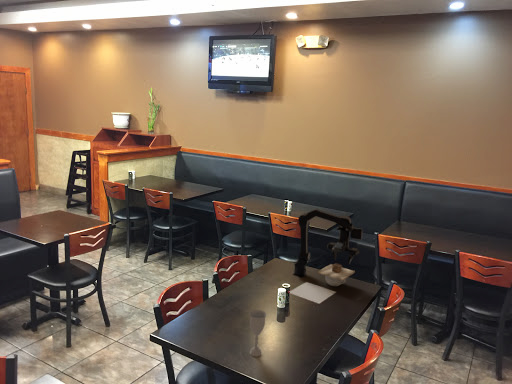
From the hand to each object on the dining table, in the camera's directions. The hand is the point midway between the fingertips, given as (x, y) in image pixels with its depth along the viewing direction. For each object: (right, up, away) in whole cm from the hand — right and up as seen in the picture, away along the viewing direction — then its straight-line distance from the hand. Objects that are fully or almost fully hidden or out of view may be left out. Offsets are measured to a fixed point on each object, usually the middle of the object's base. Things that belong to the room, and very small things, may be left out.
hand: (341, 262), depth 250 cm
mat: (-20, -15, -14) cm, 29 cm away
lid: (-4, -6, -3) cm, 8 cm away
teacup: (-4, -14, -2) cm, 15 cm away
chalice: (-52, -26, -75) cm, 95 cm away
